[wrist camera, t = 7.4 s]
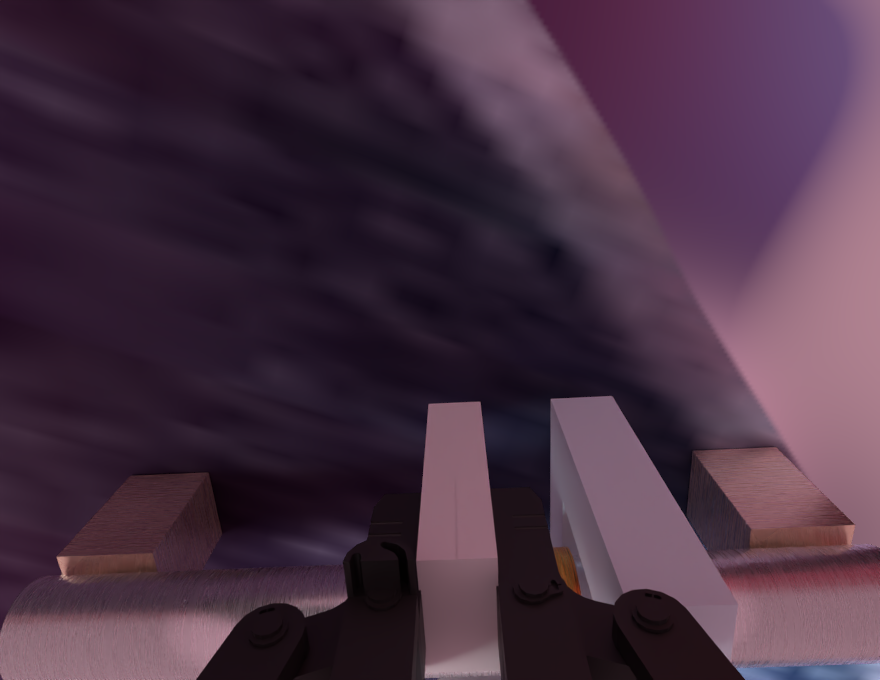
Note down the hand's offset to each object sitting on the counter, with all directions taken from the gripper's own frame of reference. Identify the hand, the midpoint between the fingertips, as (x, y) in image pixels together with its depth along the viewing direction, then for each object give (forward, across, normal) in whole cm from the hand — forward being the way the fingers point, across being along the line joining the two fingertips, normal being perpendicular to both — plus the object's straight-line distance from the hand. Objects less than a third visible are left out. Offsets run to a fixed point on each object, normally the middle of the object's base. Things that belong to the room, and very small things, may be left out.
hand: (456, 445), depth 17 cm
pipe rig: (+4, 0, -4) cm, 6 cm away
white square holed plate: (+3, +4, -4) cm, 6 cm away
